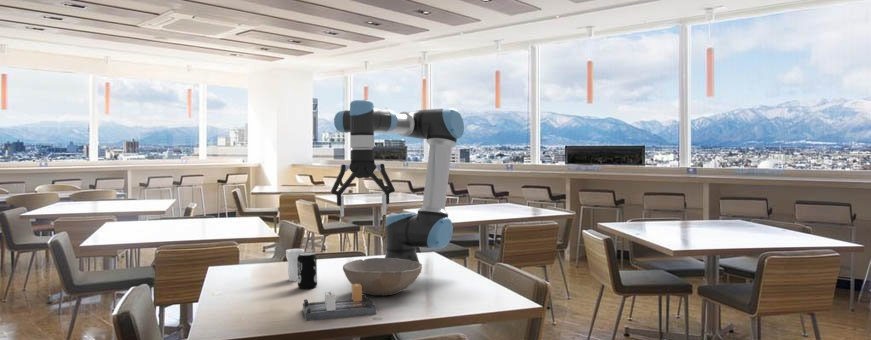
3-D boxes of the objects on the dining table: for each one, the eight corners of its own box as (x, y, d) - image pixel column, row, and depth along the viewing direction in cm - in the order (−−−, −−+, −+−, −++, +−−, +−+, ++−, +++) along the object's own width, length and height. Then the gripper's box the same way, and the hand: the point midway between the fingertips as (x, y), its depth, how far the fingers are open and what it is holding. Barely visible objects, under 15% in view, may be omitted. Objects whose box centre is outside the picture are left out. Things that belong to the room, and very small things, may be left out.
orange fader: (359, 298, 184) (359, 283, 183) (362, 300, 180) (361, 285, 180) (351, 298, 183) (351, 283, 183) (353, 301, 179) (353, 286, 179)
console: (368, 304, 185) (368, 293, 184) (376, 314, 173) (376, 303, 173) (302, 309, 179) (302, 299, 179) (306, 320, 167) (306, 309, 167)
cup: (291, 282, 217) (291, 252, 217) (283, 279, 222) (282, 250, 222) (308, 279, 222) (307, 250, 221) (299, 276, 227) (298, 248, 226)
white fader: (333, 307, 173) (333, 291, 173) (335, 310, 170) (335, 294, 170) (325, 307, 172) (324, 292, 172) (326, 311, 169) (326, 294, 169)
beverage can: (312, 289, 205) (311, 255, 204) (294, 289, 206) (294, 254, 206) (320, 285, 211) (319, 251, 211) (302, 285, 212) (302, 251, 212)
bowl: (402, 281, 216) (402, 254, 216) (436, 297, 192) (435, 266, 192) (332, 290, 204) (331, 261, 204) (359, 307, 180) (358, 275, 180)
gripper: (397, 148, 197) (398, 212, 198) (321, 149, 190) (322, 215, 191) (403, 148, 190) (404, 214, 191) (324, 149, 183) (325, 218, 184)
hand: (363, 215), depth 191 cm, fingers open, 13 cm apart
